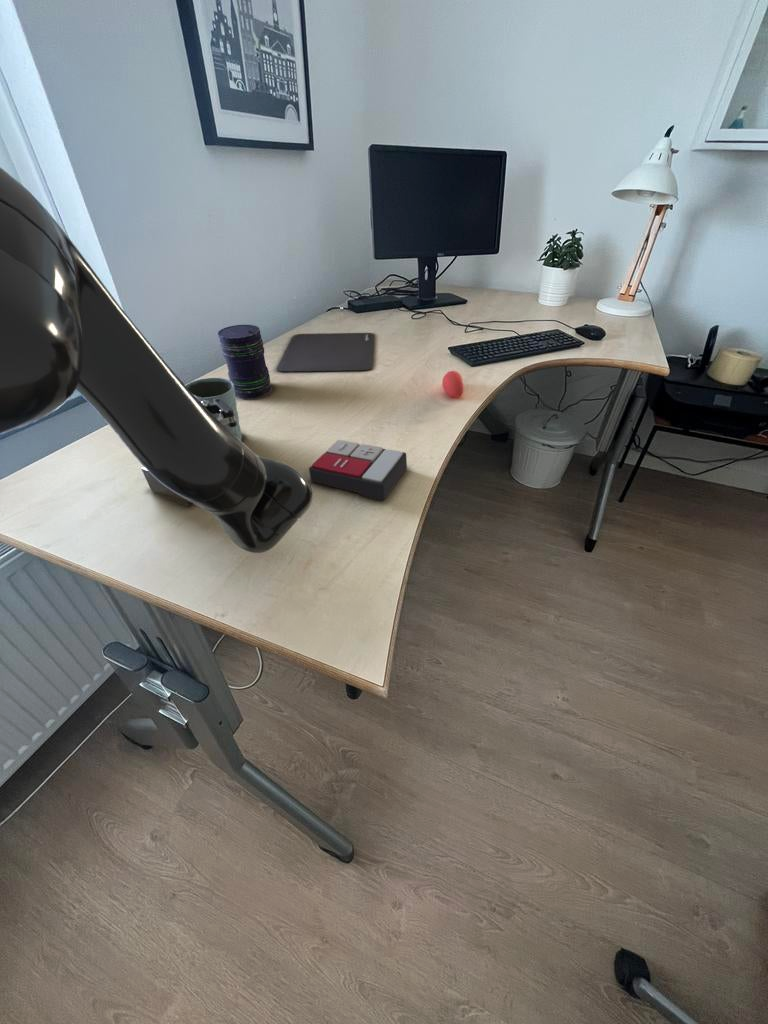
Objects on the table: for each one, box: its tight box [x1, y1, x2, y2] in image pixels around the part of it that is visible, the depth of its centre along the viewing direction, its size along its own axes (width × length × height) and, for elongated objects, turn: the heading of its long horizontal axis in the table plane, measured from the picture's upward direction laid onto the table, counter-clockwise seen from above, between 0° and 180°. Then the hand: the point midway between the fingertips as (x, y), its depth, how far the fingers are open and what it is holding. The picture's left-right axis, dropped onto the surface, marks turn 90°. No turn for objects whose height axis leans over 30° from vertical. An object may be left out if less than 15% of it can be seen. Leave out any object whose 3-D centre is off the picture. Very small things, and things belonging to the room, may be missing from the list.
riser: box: [141, 466, 195, 508], centre depth 79 cm, size 10×10×5 cm
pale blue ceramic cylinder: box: [184, 377, 243, 441], centre depth 89 cm, size 10×10×12 cm
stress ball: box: [441, 370, 464, 399], centre depth 107 cm, size 5×9×6 cm, turn 166°
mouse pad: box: [276, 332, 375, 373], centre depth 132 cm, size 32×27×1 cm
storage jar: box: [217, 324, 272, 400], centre depth 107 cm, size 10×10×15 cm
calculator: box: [308, 439, 408, 502], centre depth 80 cm, size 11×4×15 cm
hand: (166, 409), depth 68 cm, fingers open, 8 cm apart
